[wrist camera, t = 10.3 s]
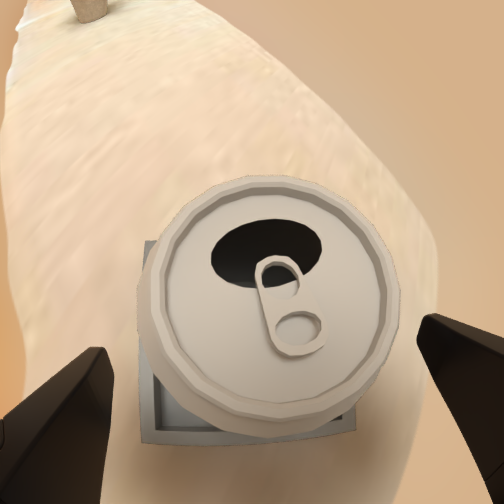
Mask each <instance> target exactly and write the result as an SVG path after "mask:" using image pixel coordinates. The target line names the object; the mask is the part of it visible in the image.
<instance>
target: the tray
mask: <svg viewBox="0 0 504 504" xmlns="http://www.w3.org/2000/svg"><path fill="white" fill-rule="evenodd" d="M156 242H157V241H145V247H144V258H143V269H144V266H145V263H146V260H147V257H148V255H149V252H150V250H151V249H152V247H153V246H154V245H155V243H156ZM143 269H142V272H143ZM139 405H140V426H141V441H142V443H147V444H160V445H181V446H231V445H251V444H265V443H276V442H285V441H294V440H302V439H309V438H316V437H322V436H328V435H333V434H339V433H344V432H349V431H354V430H356V416H355V404H354V405H353V406H352V407H351V408H350V409H349V410H348V411H346V412H345V413H343V414H341V415H340V416H338V417H336V418H334V419H333V420H331V421H329V422H327V423H325V424H324V425H322V426H320V427H318V428H316V429H314V430H312V431H308V432H303V433H298V434H292V435H286V436H280V437H273V438H262V437H256V436H250V435H245V434H239V433H234V432H229V431H224V430H221V429H219V428H217V427H216V426H214V425H212V424H210V423H208V422H207V421H205V420H203V419H201V418H200V417H198V416H196V415H195V414H193V413H191V412H190V411H188V410H186V409H185V408H183V407H182V406H181V405H180V404H179V403H178V402H177V401H176V399H175V398H174V397H173V396H172V395H171V394H170V392H169V391H168V390H167V389H166V388H165V386H164V385H163V384H162V383H161V382H160V380H159V379H158V378H157V377H156V375H155V374H154V373H153V372H152V369H151V367H150V364H149V361H148V359H147V356H146V353H145V351H144V348H143V345H142V342H141V340H140V337H139Z"/></svg>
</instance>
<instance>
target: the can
mask: <svg viewBox="0 0 504 504" xmlns="http://www.w3.org/2000/svg"><path fill="white" fill-rule="evenodd" d="M400 292H401V290H400V286H399V282H398V278H397V274H396V270H395V266H394V263H393V259H392V256H391V254H390V252H389V250H388V249H387V247H386V245H385V243H384V242H383V240H382V238H381V237H380V235H379V233H378V232H377V230H376V228H375V227H374V225H373V224H372V223H371V222H370V221H369V220H368V219H367V218H366V217H365V216H364V215H363V214H362V213H361V212H359V211H358V210H357V209H356V208H355V207H354V206H353V205H352V204H351V203H350V202H349V201H348V200H346V199H344V198H343V197H341V196H339V195H337V194H335V193H334V192H332V191H330V190H328V189H326V188H324V187H323V186H321V185H319V184H317V183H313V182H309V181H305V180H301V179H297V178H293V177H289V176H285V175H252V176H245V177H241V178H238V179H235V180H231V181H228V182H225V183H222V184H218V185H215V186H213V187H211V188H210V189H208V190H207V191H205V192H204V193H202V194H201V195H199V196H198V197H196V198H195V199H193V200H192V201H190V202H189V203H187V204H186V205H184V206H183V207H182V209H181V210H180V211H179V212H178V214H177V215H176V216H175V217H174V219H173V220H172V221H171V222H170V224H169V225H168V226H167V228H166V229H165V230H164V231H163V233H162V234H161V235H160V238H159V239H158V241H157V242H156V243H155V245H154V246H153V247H152V249H151V250H150V252H149V255H148V257H147V260H146V263H145V266H144V269H143V272H142V275H141V278H140V281H139V284H138V287H137V331H138V334H139V337H140V340H141V342H142V345H143V348H144V351H145V353H146V356H147V359H148V361H149V364H150V367H151V369H152V372H153V373H154V374H155V375H156V377H157V378H158V379H159V380H160V382H161V383H162V384H163V385H164V386H165V388H166V389H167V390H168V391H169V392H170V394H171V395H172V396H173V397H174V398H175V399H176V401H177V402H178V403H179V404H180V405H181V406H182V407H183V408H185V409H186V410H188V411H190V412H191V413H193V414H195V415H196V416H198V417H200V418H201V419H203V420H205V421H207V422H208V423H210V424H212V425H214V426H216V427H217V428H219V429H221V430H224V431H229V432H234V433H239V434H245V435H250V436H256V437H262V438H273V437H280V436H286V435H292V434H298V433H303V432H308V431H312V430H314V429H316V428H318V427H320V426H322V425H324V424H325V423H327V422H329V421H331V420H333V419H334V418H336V417H338V416H340V415H341V414H343V413H345V412H346V411H348V410H349V409H350V408H351V407H352V406H353V405H354V404H355V403H356V402H357V401H358V400H359V398H360V397H361V396H362V395H363V394H364V393H365V392H366V390H367V389H368V388H369V387H370V386H371V385H372V383H373V382H374V381H375V380H376V378H377V376H378V374H379V371H380V369H381V367H382V366H383V365H384V364H385V362H386V360H387V357H388V355H389V352H390V350H391V347H392V344H393V342H394V339H395V336H396V334H397V331H398V328H399V316H400Z"/></svg>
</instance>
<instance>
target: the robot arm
mask: <svg viewBox="0 0 504 504" xmlns="http://www.w3.org/2000/svg"><path fill="white" fill-rule="evenodd" d="M417 345H418V347H419V350H420V352H421V354H422V356H423V358H424V360H425V362H426V365H427V367H428V369H429V371H430V374H431V376H432V378H433V380H434V382H435V384H436V386H437V388H438V390H439V392H440V393H441V395H442V397H443V399H444V401H445V402H446V404H447V406H448V408H449V410H450V411H451V414H452V416H453V417H454V419H455V421H456V423H457V425H458V427H459V429H460V431H461V433H462V435H463V437H464V439H465V441H466V443H467V445H468V447H469V449H470V451H471V453H472V456H473V458H474V460H475V462H476V464H477V466H478V468H479V471H480V473H481V475H482V478H483V480H484V481H485V484H486V487H487V490H488V492H489V494H490V497H491V499H492V502H493V504H504V338H502V337H500V336H497V335H494V334H491V333H489V332H486V331H483V330H481V329H478V328H475V327H472V326H470V325H467V324H464V323H461V322H459V321H456V320H453V319H451V318H447V317H445V316H442V315H440V314H437V313H433V314H428V315H425V316H424V317H423V319H422V322H421V325H420V328H419V331H418V335H417ZM113 386H114V372H113V368H112V365H111V363H110V360H109V357H108V354H107V351H106V349H105V348H103V347H89V348H88V349H87V350H85V351H84V352H83V353H81V354H80V355H79V356H78V357H76V358H75V359H74V360H73V361H71V362H70V363H69V364H68V365H66V366H65V367H64V368H63V369H61V370H60V371H59V372H58V373H56V374H55V375H54V376H53V377H52V378H50V379H49V380H48V381H47V382H45V383H44V384H43V385H42V386H40V387H39V388H38V389H37V390H36V391H34V392H33V393H32V394H31V395H29V396H28V397H27V398H26V399H25V400H23V401H22V402H21V403H20V404H19V405H17V406H16V407H15V408H14V409H13V410H11V411H10V412H9V413H8V414H6V415H5V416H4V417H3V419H0V504H100V497H101V488H102V480H103V472H104V465H105V458H106V452H107V445H108V439H109V433H110V426H111V412H112V398H113Z"/></svg>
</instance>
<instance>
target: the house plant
mask: <svg viewBox="0 0 504 504" xmlns="http://www.w3.org/2000/svg"><path fill="white" fill-rule="evenodd" d="M70 1H71V3H72V5H73V7H74V10H75V12H76V14H77V16H78V19H79V21H80V23H88V22H91V21H95V20H97V19H99V18H101V17H103V16H105V15H106V14H107V0H70Z"/></svg>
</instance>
